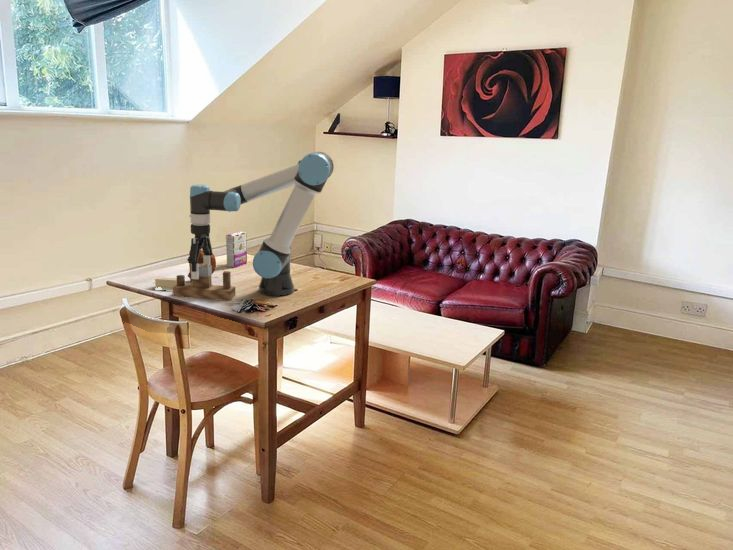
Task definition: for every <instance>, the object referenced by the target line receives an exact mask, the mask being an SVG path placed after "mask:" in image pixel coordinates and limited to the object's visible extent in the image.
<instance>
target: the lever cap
mask: <svg viewBox="0 0 733 550" xmlns="http://www.w3.org/2000/svg"><path fill="white" fill-rule="evenodd" d="M198 271H199V276H200V277H209V276H210V275H211V276H212V275H213V274H212V265H209V264H198Z"/></svg>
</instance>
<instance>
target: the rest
mask: <svg viewBox="0 0 733 550" xmlns="http://www.w3.org/2000/svg"><path fill="white" fill-rule="evenodd" d="M154 281H155V285H154V286H155V287H157V288H158V287H161V288H162V290H166V291H165V292H171V291H173V287H174V286H175V285H177V277H175V278H173V277H160V276H158V277H156V278H155V279H154Z"/></svg>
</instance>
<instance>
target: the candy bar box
mask: <svg viewBox="0 0 733 550" xmlns="http://www.w3.org/2000/svg"><path fill="white" fill-rule="evenodd" d="M225 242H226V243H225V244H226V245H225V247H226V249H225V250H226V267H227V268H234V269H235V268H238V267H241V266H244V265H246V264H248V256H247V255H248V251H247V247H248V246H247V242H248V241H247V231H246V232H245V231H236V232H232V233H229V234H226V235H225ZM243 264H244V265H243ZM240 265H241V266H240Z"/></svg>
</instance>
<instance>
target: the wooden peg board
mask: <svg viewBox="0 0 733 550" xmlns="http://www.w3.org/2000/svg"><path fill="white" fill-rule="evenodd" d="M176 278H177V285H175V286H174V287H173V292H172V297H173V296H177V297H176V298H186V297H187V299H191V298H192V299H201V300H202V299H205V300H217V301H228V302H229V301H230V302H231V301H232V300H233V299H234V298H235V297H236V295H237V294H236V286H232V285H231V271H228V270H226V271H225V270H224V271H223V272H222V285H219V284H217V285H216V284H212V283H213V282H212V275H210V276H209V277H200V276H199V279H192V282H191V283H190V282H189V283H187V282H186V279H185V278H186V277H185V275H183V274H177V275H176Z"/></svg>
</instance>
